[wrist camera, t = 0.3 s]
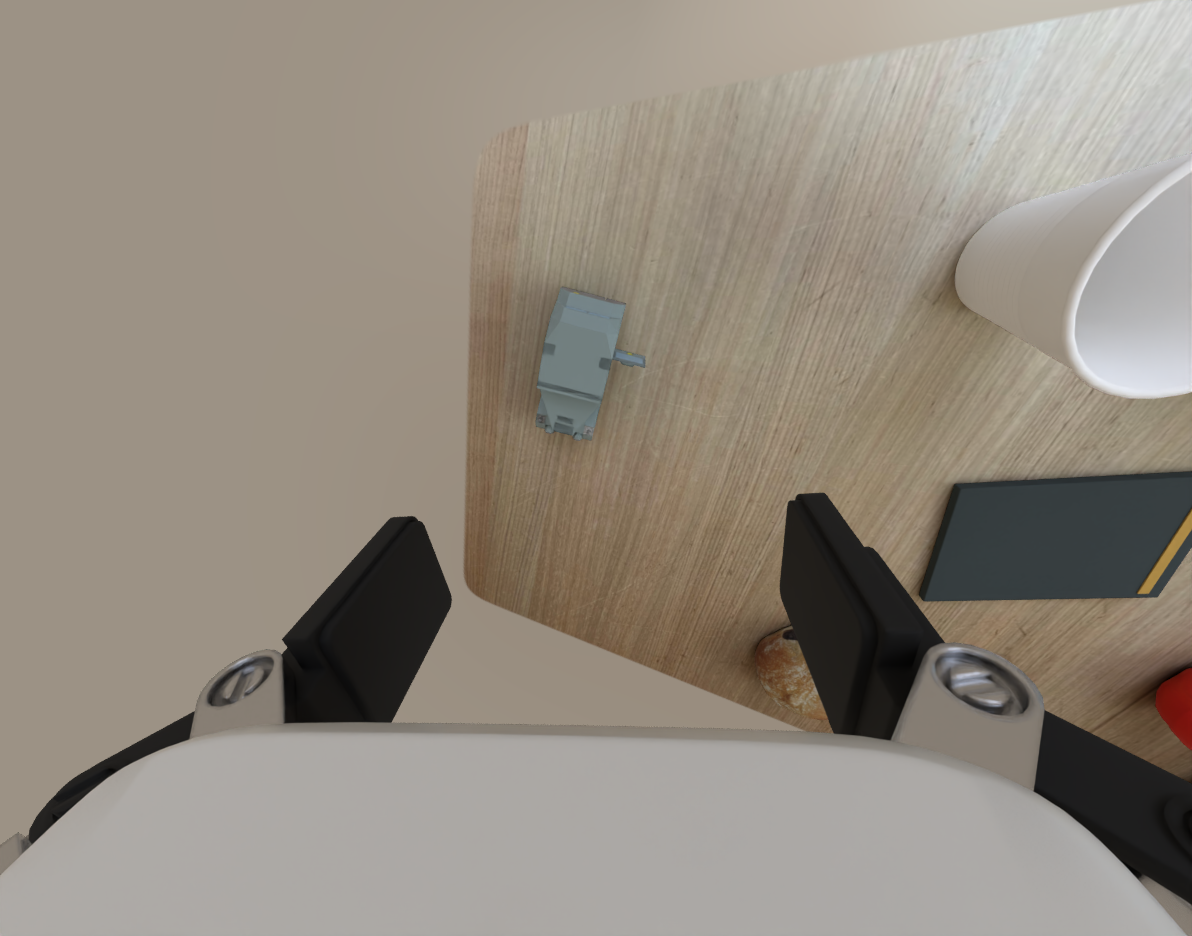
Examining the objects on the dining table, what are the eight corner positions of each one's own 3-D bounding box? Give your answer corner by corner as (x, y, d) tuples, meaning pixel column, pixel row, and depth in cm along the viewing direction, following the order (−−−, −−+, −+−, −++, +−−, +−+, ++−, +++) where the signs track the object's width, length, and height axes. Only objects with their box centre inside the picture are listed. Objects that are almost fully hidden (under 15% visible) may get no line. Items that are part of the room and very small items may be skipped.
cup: (1021, 122, 23) (1293, 45, 13) (1151, 217, 24) (1481, 209, 15) (881, 297, 28) (1007, 333, 18) (997, 368, 29) (1171, 437, 19)
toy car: (541, 416, 34) (527, 443, 30) (565, 284, 29) (552, 293, 25) (619, 436, 34) (616, 465, 30) (656, 308, 29) (659, 321, 25)
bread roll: (831, 592, 44) (852, 627, 37) (874, 682, 44) (904, 737, 37) (740, 620, 48) (741, 658, 40) (779, 704, 47) (789, 759, 40)
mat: (954, 483, 33) (961, 489, 33) (1229, 468, 31) (1244, 475, 30) (918, 595, 39) (923, 602, 38) (1148, 590, 37) (1159, 598, 36)
